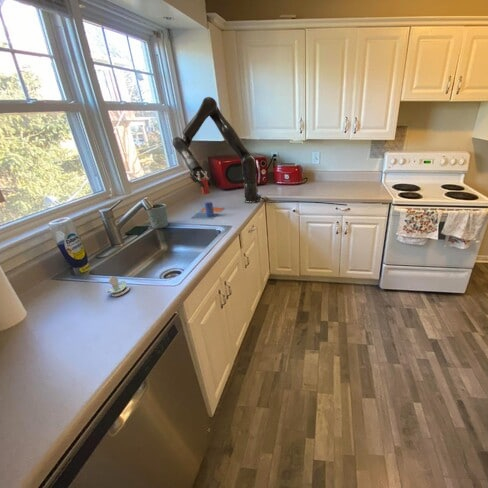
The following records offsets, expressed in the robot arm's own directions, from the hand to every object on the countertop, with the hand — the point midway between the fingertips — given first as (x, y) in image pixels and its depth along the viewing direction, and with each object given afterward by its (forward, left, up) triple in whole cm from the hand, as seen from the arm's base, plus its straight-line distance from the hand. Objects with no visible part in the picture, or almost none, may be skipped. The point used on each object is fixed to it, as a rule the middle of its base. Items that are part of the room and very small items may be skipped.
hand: (206, 185), depth 179 cm
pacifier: (-2, +93, -18) cm, 94 cm away
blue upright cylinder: (-3, +8, -18) cm, 19 cm away
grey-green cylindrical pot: (+20, +27, -18) cm, 38 cm away
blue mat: (+1, +8, -18) cm, 19 cm away
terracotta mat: (+1, -5, -18) cm, 19 cm away
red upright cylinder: (+2, -1, -5) cm, 5 cm away
